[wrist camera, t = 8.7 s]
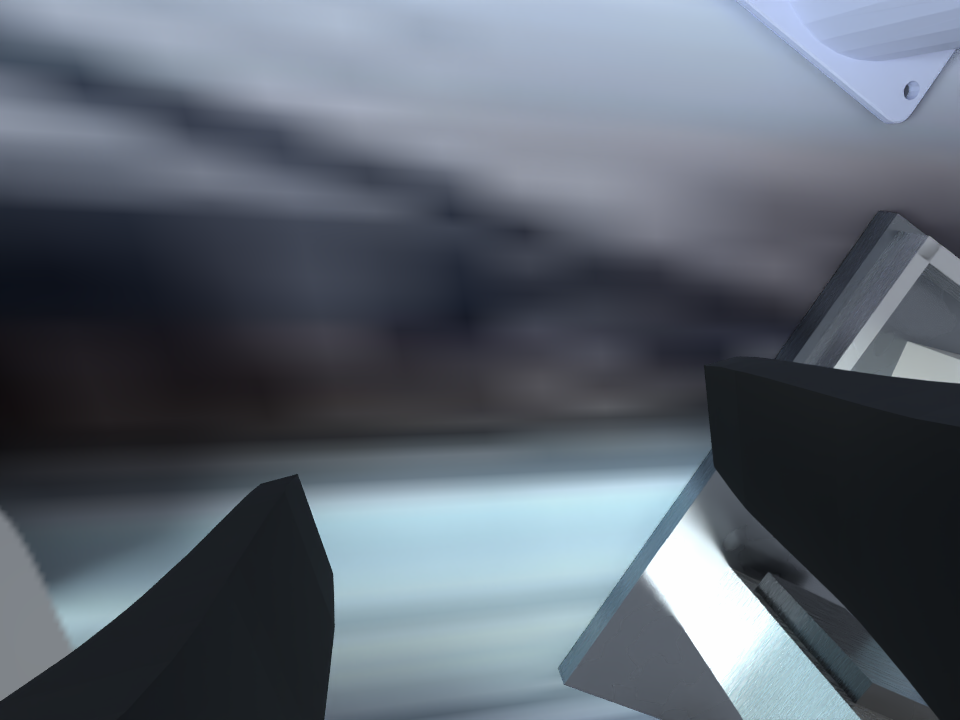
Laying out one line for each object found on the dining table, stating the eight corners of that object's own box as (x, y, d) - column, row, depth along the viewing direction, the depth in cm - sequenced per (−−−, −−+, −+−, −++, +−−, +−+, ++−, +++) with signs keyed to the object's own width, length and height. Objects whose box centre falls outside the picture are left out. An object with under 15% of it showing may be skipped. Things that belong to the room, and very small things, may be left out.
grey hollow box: (879, 210, 21) (1153, 244, 14) (1072, 358, 24) (1379, 450, 17) (558, 668, 25) (636, 886, 17) (762, 742, 28) (900, 953, 21)
